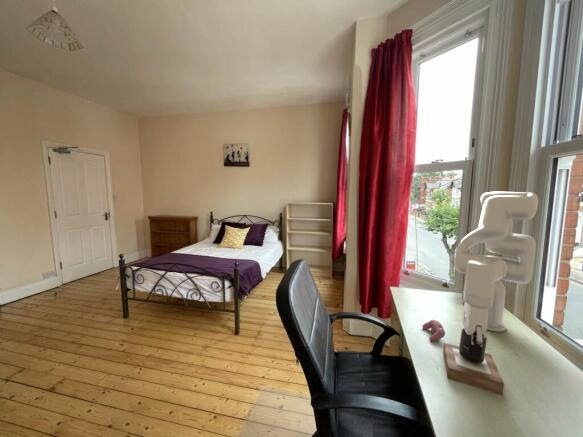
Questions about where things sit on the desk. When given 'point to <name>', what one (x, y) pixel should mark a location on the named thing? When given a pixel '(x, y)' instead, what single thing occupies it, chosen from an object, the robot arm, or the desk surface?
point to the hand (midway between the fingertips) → (472, 348)
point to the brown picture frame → (472, 370)
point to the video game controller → (435, 330)
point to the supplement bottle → (465, 348)
